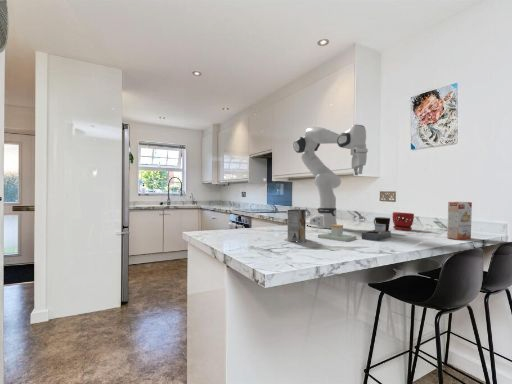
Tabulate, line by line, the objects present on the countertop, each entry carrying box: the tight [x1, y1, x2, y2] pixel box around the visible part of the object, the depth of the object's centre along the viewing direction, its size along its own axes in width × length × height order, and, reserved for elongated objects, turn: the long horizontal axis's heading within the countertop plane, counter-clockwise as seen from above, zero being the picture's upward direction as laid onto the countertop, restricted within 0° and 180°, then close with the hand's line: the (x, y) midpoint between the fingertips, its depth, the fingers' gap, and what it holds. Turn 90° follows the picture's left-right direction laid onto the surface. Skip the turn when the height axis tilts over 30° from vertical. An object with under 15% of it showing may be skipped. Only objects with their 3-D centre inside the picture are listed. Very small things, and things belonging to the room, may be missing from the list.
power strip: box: [361, 229, 392, 242], centre depth 150 cm, size 8×20×4 cm, turn 135°
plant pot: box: [392, 211, 415, 231], centre depth 191 cm, size 13×13×12 cm
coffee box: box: [287, 208, 307, 243], centre depth 141 cm, size 9×6×16 cm
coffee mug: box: [373, 216, 391, 231], centre depth 171 cm, size 12×9×10 cm
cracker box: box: [446, 201, 473, 241], centre depth 155 cm, size 14×6×21 cm, turn 117°
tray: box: [317, 232, 357, 242], centre depth 147 cm, size 16×12×2 cm
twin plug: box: [374, 223, 386, 232], centre depth 153 cm, size 4×5×7 cm
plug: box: [330, 223, 344, 238], centre depth 147 cm, size 4×5×7 cm
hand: (358, 174), depth 164 cm, fingers open, 8 cm apart
